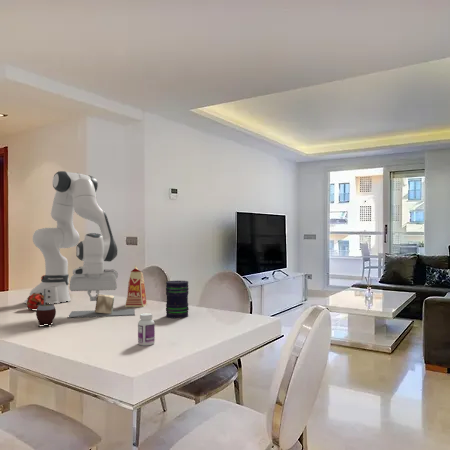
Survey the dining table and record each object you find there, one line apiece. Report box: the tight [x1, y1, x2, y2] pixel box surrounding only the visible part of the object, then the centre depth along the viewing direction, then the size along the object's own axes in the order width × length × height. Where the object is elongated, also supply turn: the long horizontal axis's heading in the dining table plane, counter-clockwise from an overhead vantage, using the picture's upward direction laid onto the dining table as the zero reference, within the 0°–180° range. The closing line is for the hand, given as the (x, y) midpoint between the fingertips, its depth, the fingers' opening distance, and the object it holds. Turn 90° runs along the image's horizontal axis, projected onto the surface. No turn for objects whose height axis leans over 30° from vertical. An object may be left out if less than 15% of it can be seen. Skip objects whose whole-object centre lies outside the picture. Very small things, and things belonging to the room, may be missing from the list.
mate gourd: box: [35, 289, 57, 326], centre depth 165 cm, size 8×8×15 cm
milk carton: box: [124, 265, 148, 308], centre depth 211 cm, size 9×9×20 cm
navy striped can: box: [165, 280, 190, 319], centre depth 184 cm, size 10×10×15 cm
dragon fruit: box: [26, 293, 48, 310], centre depth 199 cm, size 8×8×12 cm
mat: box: [68, 308, 136, 318], centre depth 189 cm, size 28×14×1 cm, turn 103°
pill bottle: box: [137, 312, 156, 347], centre depth 138 cm, size 5×5×10 cm
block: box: [94, 293, 115, 314], centre depth 190 cm, size 7×7×7 cm
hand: (93, 300), depth 189 cm, fingers closed
